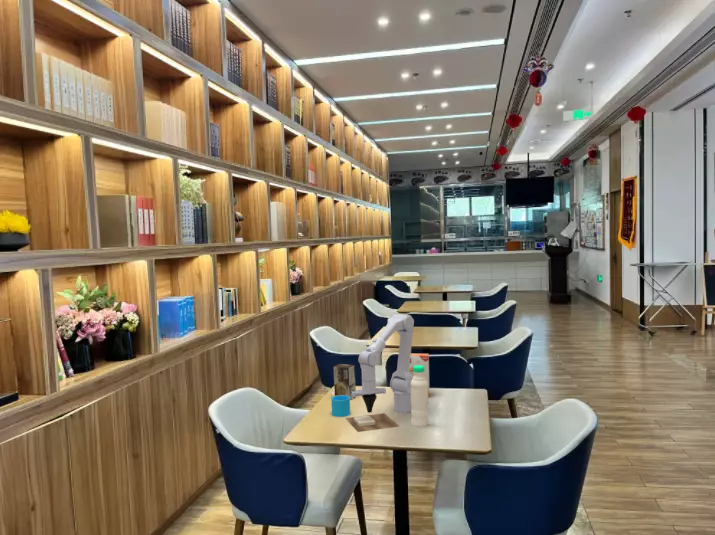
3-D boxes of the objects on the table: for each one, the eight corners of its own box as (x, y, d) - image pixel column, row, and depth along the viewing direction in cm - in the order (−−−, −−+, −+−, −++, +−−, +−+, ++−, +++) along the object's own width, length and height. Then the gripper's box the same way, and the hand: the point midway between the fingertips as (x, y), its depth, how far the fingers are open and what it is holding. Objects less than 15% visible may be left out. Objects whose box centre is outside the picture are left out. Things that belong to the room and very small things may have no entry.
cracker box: (400, 397, 258) (399, 355, 258) (401, 393, 264) (400, 352, 263) (429, 397, 256) (428, 355, 255) (429, 394, 262) (428, 353, 261)
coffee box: (356, 397, 261) (355, 364, 260) (349, 400, 255) (348, 367, 255) (340, 394, 265) (340, 363, 265) (334, 398, 260) (333, 366, 259)
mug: (346, 419, 227) (346, 401, 226) (329, 418, 229) (328, 400, 229) (355, 411, 238) (355, 393, 238) (338, 410, 241) (338, 392, 240)
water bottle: (417, 429, 212) (416, 368, 211) (408, 424, 218) (406, 365, 217) (432, 426, 215) (430, 366, 214) (422, 421, 221) (421, 363, 220)
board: (384, 415, 231) (384, 413, 231) (399, 428, 214) (399, 426, 214) (345, 420, 226) (345, 418, 226) (357, 434, 209) (357, 431, 209)
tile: (369, 415, 224) (353, 417, 222) (375, 421, 216) (359, 423, 214) (369, 419, 224) (353, 421, 222) (375, 425, 216) (359, 427, 214)
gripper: (381, 375, 225) (382, 407, 225) (349, 379, 221) (350, 411, 221) (387, 379, 218) (388, 412, 219) (354, 383, 214) (355, 416, 214)
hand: (369, 411), depth 219 cm, fingers closed
